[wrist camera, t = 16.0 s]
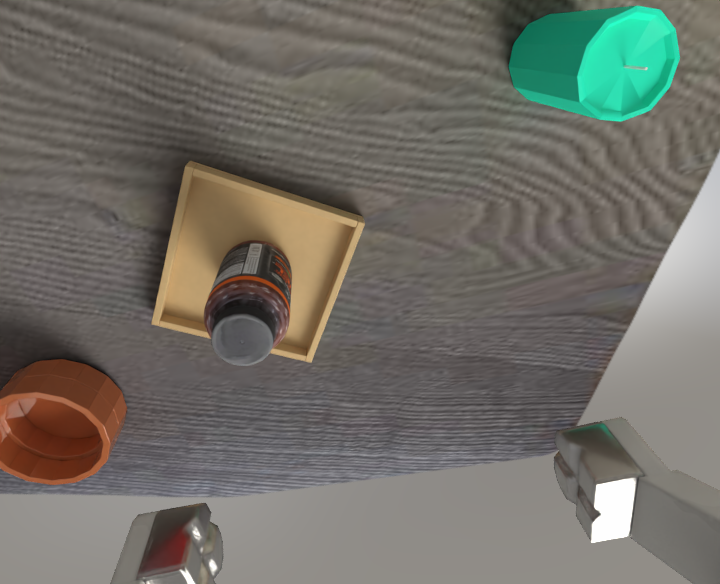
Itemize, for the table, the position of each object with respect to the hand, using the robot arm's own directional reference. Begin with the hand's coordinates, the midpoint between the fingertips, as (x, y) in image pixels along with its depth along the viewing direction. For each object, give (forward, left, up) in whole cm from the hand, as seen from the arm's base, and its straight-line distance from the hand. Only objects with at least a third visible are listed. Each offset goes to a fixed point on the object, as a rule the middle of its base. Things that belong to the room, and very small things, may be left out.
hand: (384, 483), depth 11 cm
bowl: (-16, -29, -31) cm, 45 cm away
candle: (+13, +13, -31) cm, 36 cm away
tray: (-3, -10, -31) cm, 33 cm away
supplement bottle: (-3, -10, -31) cm, 33 cm away
